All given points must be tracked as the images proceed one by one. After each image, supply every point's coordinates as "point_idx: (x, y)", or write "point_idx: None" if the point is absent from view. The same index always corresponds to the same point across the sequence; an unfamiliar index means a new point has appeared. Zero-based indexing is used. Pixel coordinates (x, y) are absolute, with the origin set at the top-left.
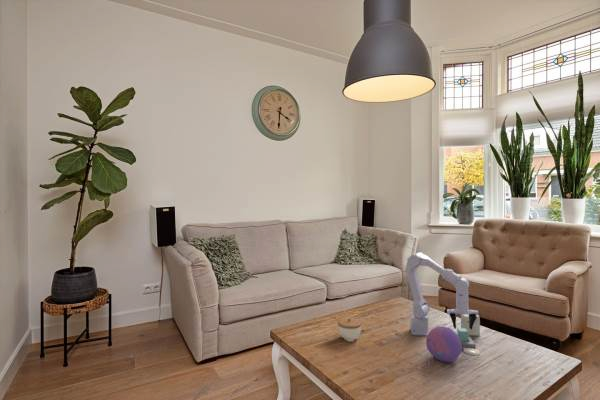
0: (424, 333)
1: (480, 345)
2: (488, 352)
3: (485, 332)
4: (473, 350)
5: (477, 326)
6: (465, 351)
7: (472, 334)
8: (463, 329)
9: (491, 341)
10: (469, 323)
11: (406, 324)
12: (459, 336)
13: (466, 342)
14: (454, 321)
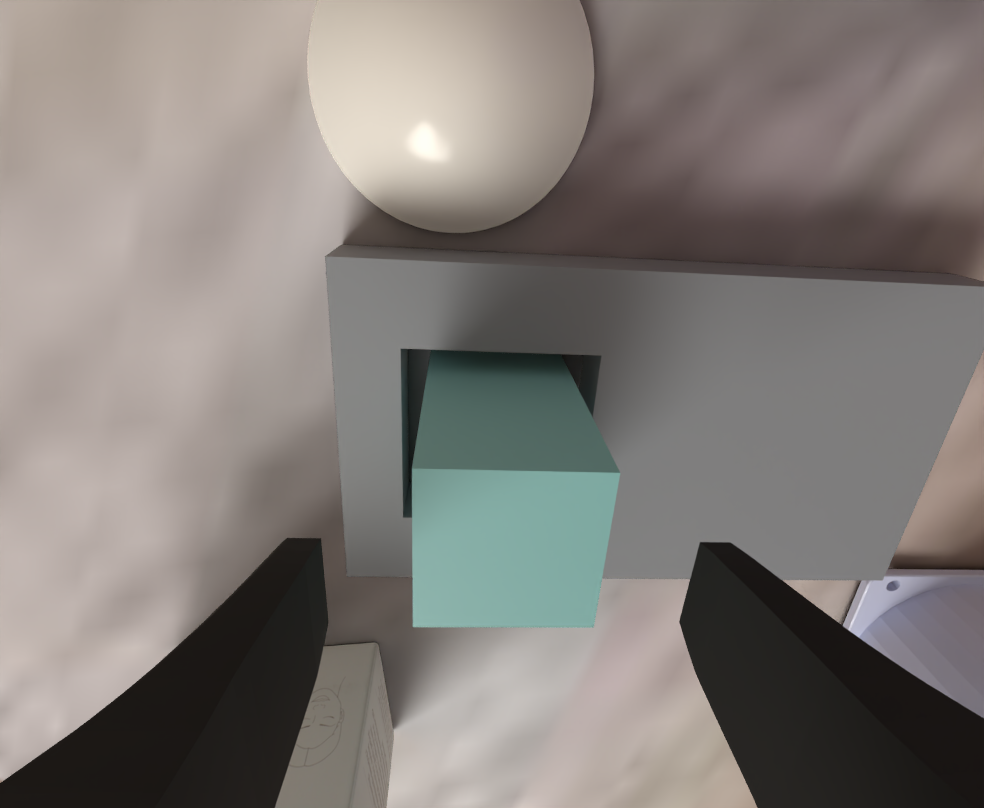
0: (952, 596)
1: (230, 364)
2: (139, 92)
3: None
4: (409, 110)
5: None
6: (579, 46)
7: None
8: (482, 570)
9: (36, 514)
10: (292, 732)
11: None
12: (589, 416)
13: (472, 321)
14: (910, 702)
